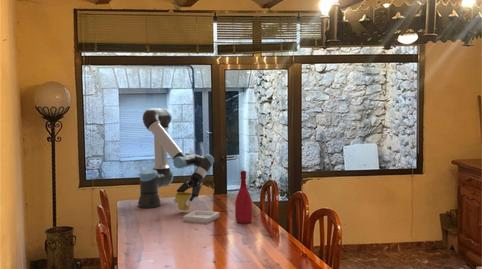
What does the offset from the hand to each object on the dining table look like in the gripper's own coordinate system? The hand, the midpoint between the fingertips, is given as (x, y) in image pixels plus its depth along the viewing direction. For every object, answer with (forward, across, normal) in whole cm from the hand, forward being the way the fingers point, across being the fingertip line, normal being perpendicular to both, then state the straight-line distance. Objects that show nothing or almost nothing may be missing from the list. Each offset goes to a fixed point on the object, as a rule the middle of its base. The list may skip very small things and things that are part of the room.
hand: (180, 203), depth 322 cm
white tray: (+6, -21, -3) cm, 22 cm away
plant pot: (+1, 0, -5) cm, 5 cm away
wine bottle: (-2, -45, -10) cm, 46 cm away
